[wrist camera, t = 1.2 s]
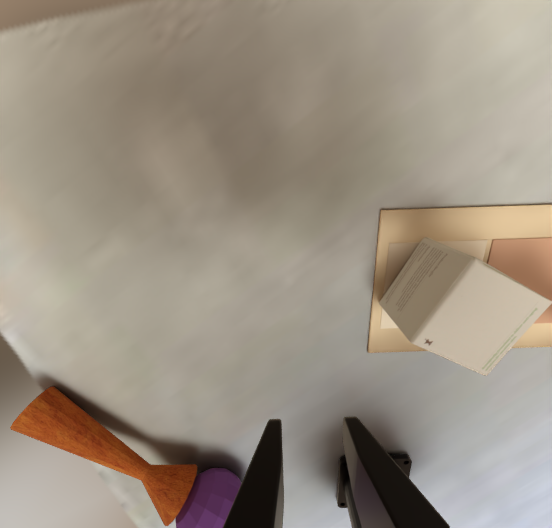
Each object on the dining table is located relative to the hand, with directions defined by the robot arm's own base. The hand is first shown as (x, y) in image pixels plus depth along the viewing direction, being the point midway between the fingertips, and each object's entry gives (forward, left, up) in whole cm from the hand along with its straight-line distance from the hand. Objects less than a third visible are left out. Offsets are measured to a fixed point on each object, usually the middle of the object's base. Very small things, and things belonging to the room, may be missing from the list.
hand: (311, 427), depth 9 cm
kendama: (-15, +13, -12) cm, 23 cm away
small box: (0, -10, -11) cm, 15 cm away
